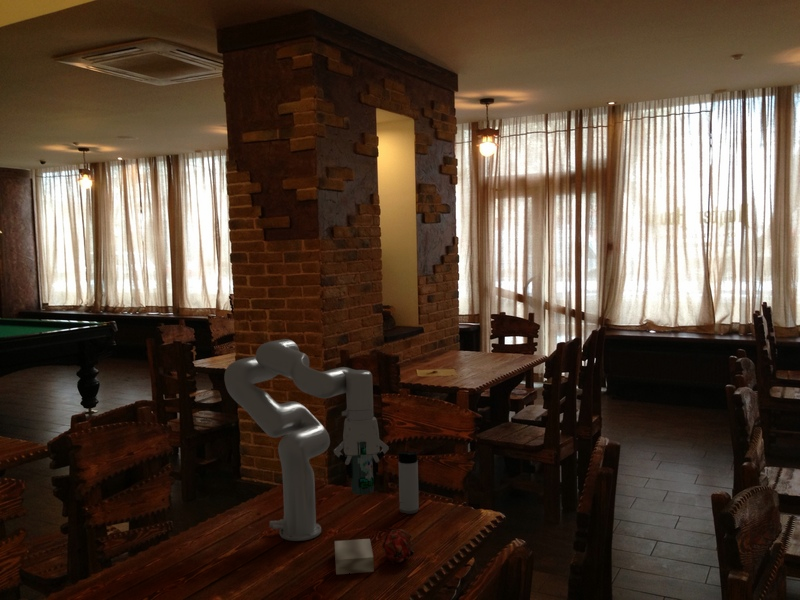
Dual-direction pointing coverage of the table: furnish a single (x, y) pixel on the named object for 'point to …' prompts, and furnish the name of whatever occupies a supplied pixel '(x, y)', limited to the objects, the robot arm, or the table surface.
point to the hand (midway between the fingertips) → (362, 475)
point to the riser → (353, 556)
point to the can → (362, 472)
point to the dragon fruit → (397, 546)
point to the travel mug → (408, 482)
